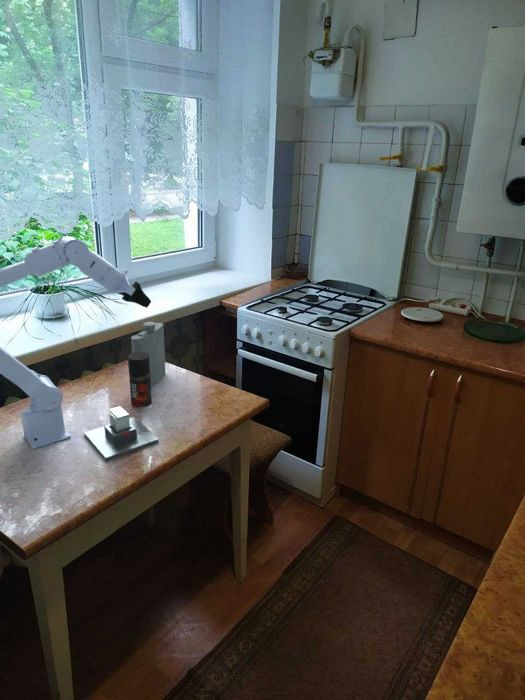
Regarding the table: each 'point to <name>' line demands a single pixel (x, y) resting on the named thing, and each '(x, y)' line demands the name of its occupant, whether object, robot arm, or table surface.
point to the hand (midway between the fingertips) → (142, 300)
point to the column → (119, 420)
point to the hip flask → (152, 348)
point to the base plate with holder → (120, 439)
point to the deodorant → (139, 379)
